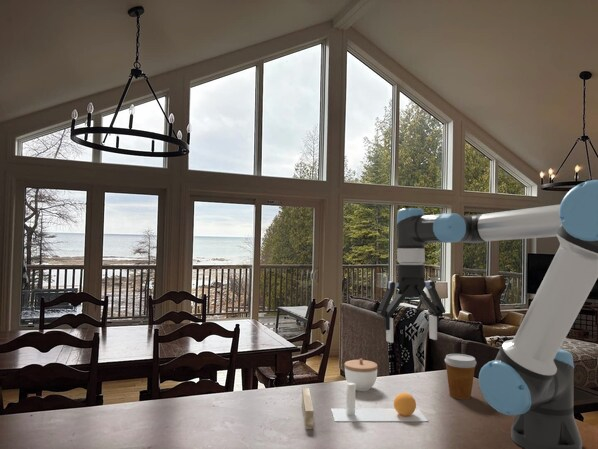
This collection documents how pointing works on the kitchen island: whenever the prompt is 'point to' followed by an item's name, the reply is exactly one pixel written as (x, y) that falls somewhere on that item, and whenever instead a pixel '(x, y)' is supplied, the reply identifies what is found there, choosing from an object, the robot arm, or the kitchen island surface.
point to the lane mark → (376, 415)
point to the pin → (350, 399)
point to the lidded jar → (361, 373)
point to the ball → (404, 404)
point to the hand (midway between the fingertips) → (411, 340)
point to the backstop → (307, 408)
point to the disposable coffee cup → (460, 375)
